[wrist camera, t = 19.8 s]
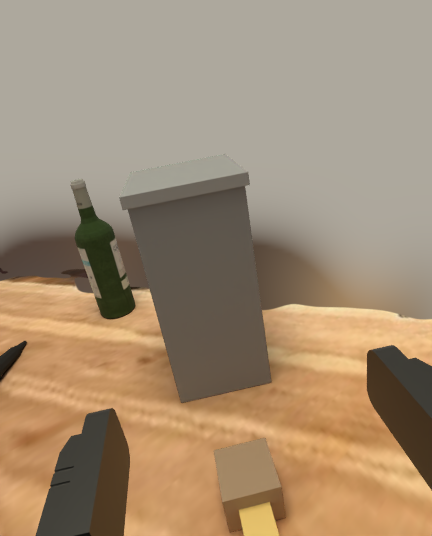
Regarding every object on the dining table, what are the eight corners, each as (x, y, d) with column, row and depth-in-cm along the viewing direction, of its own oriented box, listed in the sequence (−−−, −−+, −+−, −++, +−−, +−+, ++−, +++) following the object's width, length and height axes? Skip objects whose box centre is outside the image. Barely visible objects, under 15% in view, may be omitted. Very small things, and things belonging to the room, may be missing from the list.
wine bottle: (142, 306, 85) (103, 175, 73) (111, 323, 81) (65, 187, 68) (124, 297, 91) (86, 174, 78) (95, 312, 86) (49, 185, 74)
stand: (275, 383, 56) (248, 171, 43) (178, 406, 55) (119, 197, 42) (250, 323, 72) (225, 154, 58) (174, 340, 71) (130, 172, 58)
